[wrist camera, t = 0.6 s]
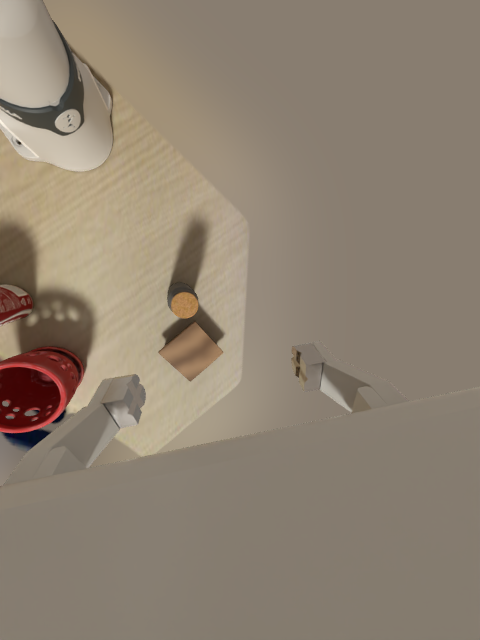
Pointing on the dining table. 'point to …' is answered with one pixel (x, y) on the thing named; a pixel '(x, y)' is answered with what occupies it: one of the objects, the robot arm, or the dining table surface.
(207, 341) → the small wooden stand
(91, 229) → the dining table surface
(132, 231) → the dining table surface
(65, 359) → the plant pot
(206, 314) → the dining table surface
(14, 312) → the soda can
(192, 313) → the bottle
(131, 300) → the dining table surface
